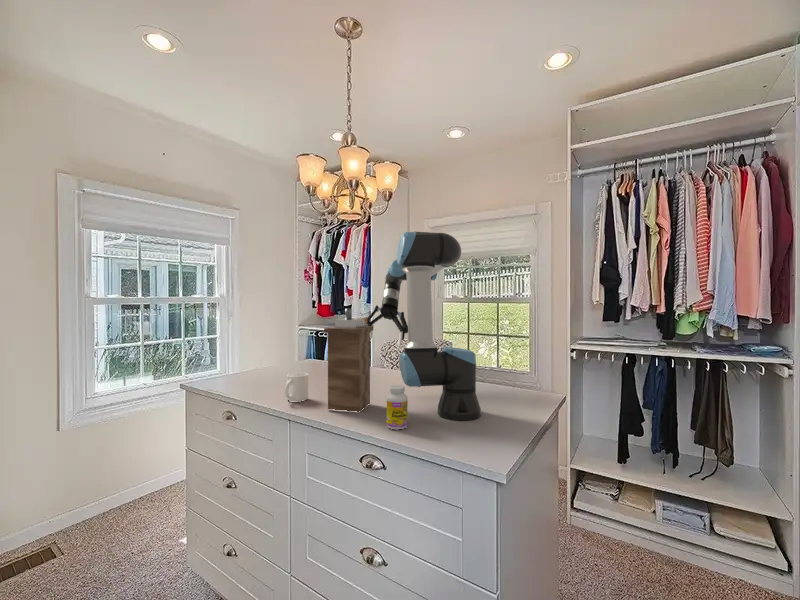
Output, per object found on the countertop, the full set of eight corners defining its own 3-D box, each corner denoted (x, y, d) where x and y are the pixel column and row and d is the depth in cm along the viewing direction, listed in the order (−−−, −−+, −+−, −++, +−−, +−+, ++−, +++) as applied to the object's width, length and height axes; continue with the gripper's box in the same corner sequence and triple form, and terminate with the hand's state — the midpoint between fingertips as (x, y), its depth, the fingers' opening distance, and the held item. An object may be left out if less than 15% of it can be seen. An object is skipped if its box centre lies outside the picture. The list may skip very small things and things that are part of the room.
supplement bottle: (389, 431, 119) (389, 390, 119) (384, 424, 125) (384, 385, 125) (410, 429, 121) (410, 388, 121) (404, 422, 127) (404, 383, 127)
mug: (294, 406, 146) (294, 379, 146) (276, 404, 149) (276, 377, 149) (312, 398, 157) (312, 373, 157) (295, 396, 160) (295, 371, 160)
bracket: (354, 324, 161) (354, 307, 161) (373, 324, 159) (373, 307, 159) (335, 327, 142) (335, 308, 141) (355, 328, 140) (355, 308, 139)
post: (339, 401, 153) (339, 325, 153) (373, 403, 150) (373, 326, 149) (324, 411, 140) (324, 328, 139) (360, 414, 136) (360, 329, 136)
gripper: (412, 310, 186) (408, 351, 176) (362, 297, 180) (355, 339, 170) (418, 303, 180) (414, 346, 170) (366, 290, 174) (359, 333, 164)
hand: (384, 342), depth 170 cm, fingers open, 13 cm apart
